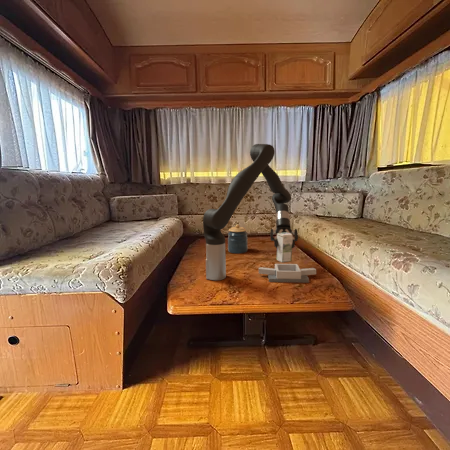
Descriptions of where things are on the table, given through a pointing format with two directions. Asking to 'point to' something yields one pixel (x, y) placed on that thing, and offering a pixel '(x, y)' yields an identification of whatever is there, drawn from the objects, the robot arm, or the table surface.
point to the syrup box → (284, 247)
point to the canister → (237, 240)
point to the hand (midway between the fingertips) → (284, 247)
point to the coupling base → (287, 273)
